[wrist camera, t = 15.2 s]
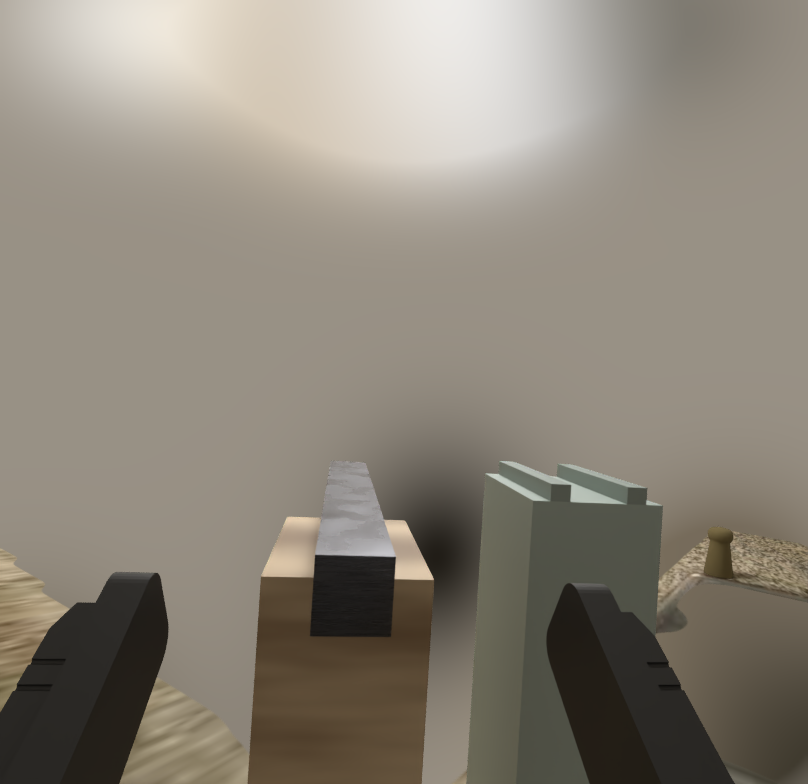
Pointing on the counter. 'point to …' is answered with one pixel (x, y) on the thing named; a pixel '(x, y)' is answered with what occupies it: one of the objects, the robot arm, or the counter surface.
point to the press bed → (338, 675)
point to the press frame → (547, 607)
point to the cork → (719, 553)
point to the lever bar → (352, 559)
